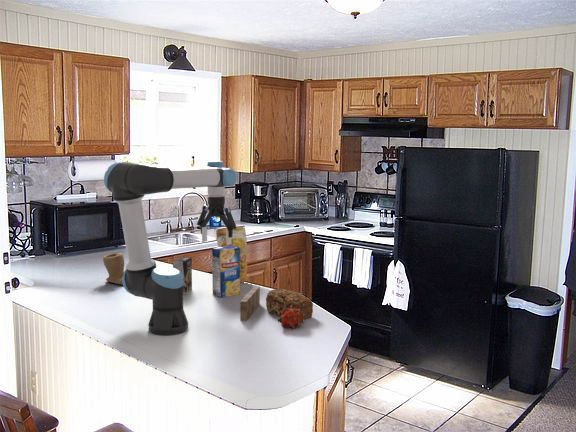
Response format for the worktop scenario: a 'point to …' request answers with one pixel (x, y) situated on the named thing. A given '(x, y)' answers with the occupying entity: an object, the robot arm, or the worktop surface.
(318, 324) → the worktop surface
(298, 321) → the dragon fruit
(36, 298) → the worktop surface
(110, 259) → the tan boot figurine
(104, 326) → the worktop surface
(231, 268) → the beverage box
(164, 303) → the robot arm
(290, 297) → the bread
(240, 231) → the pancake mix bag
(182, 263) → the coffee box
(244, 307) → the walnut board
